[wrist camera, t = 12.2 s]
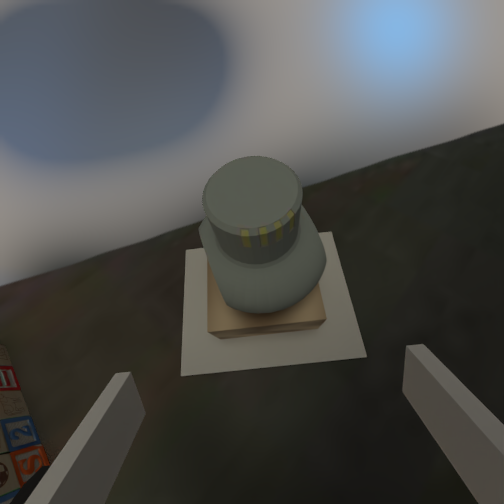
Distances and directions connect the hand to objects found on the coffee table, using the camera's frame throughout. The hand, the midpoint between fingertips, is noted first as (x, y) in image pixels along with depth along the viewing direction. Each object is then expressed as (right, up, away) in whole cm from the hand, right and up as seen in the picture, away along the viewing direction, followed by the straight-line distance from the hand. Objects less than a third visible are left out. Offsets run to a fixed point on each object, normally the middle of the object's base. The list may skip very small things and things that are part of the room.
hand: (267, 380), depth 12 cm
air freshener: (0, +5, +11) cm, 12 cm away
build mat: (+1, +1, +15) cm, 15 cm away
